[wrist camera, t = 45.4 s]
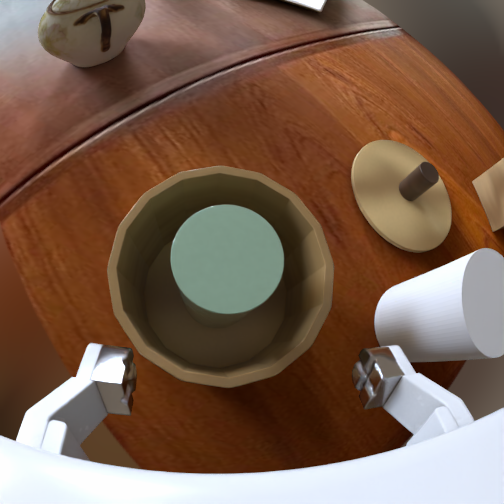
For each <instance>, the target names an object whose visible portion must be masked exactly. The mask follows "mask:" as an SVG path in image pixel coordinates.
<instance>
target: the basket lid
mask: <svg viewBox="0 0 504 504" xmlns="http://www.w3.org/2000/svg"><path fill="white" fill-rule="evenodd" d="M351 181H352V188H353V192H354V195H355V198H356V201H357V203H358V206H359V208H360V210H361V212H362V213H363V215H364V217H365V218H366V220H367V221H368V222H369V224H370V225H371V226H372V227H373V228H374V230H375V231H376V232H377V233H378V234H379V235H380V236H382V237H383V238H384V239H385V240H387V241H388V242H389V243H391V244H393V245H394V246H396V247H398V248H400V249H403V250H406V251H409V252H426V251H429V250H432V249H434V248H436V247H437V246H439V245H440V244H441V243H442V242H443V241H444V239H445V238H446V236H447V234H448V232H449V229H450V226H451V215H452V213H451V204H450V199H449V196H448V193H447V190H446V188H445V186H444V184H443V182H442V180H441V178H440V176H439V175H438V172H437V170H436V169H435V167H434V166H433V165H432V164H430V163H429V162H428V161H427V160H426V159H425V158H424V157H423V156H421V155H420V154H419V153H418V152H416V151H415V150H413V149H412V148H410V147H408V146H406V145H404V144H401V143H398V142H395V141H390V140H378V141H374V142H371V143H369V144H367V145H366V146H364V147H363V148H362V149H361V150H360V151H359V153H358V154H357V156H356V157H355V159H354V162H353V165H352V171H351Z"/></svg>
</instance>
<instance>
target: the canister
mask: <svg viewBox="0 0 504 504" xmlns="http://www.w3.org/2000/svg"><path fill="white" fill-rule="evenodd" d="M171 268H172V272H173V276H174V279H175V281H176V284H177V287H178V290H179V292H180V295H181V298H182V300H183V303H184V305H185V308H186V310H187V312H188V313H189V315H190V316H191V317H192V318H193V319H194V320H195V321H197V322H198V323H200V324H201V325H203V326H206V327H209V328H216V329H217V328H226V327H229V326H232V325H234V324H235V323H237V322H239V321H240V320H241V319H243V318H244V317H245V316H247V315H248V314H249V313H251V312H252V311H253V310H255V309H256V308H257V307H259V306H260V305H261V304H263V303H264V302H265V301H266V300H267V299H268V298H269V297H270V296H271V295H272V294H273V293H274V291H275V290H276V288H277V287H278V285H279V282H280V280H281V277H282V274H283V269H284V252H283V248H282V244H281V242H280V239H279V237H278V235H277V233H276V232H275V230H274V229H273V227H272V226H271V225H270V224H269V223H268V222H267V221H266V220H265V219H264V218H263V217H261V216H260V215H259V214H257V213H255V212H253V211H252V210H249V209H247V208H244V207H240V206H236V205H216V206H212V207H208V208H205V209H203V210H201V211H199V212H197V213H195V214H194V215H192V216H191V217H190V218H189V219H188V220H187V221H185V223H184V224H183V225H182V226H181V227H180V229H179V231H178V232H177V234H176V236H175V238H174V241H173V244H172V248H171Z"/></svg>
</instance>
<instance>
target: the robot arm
mask: <svg viewBox="0 0 504 504" xmlns="http://www.w3.org/2000/svg"><path fill="white" fill-rule="evenodd" d="M133 356H134V355H133V351H132V349H131V348H126V347H118V346H110V345H101V344H94V343H90V344H89V345H88V346H87V348H86V351H85V354H84V356H83V359H82V362H81V364H80V367H79V370H78V373H77V376H76V378H75V377H71V378H70V379H69V380H67V381H66V382H65V383H63V384H62V385H61V386H59V387H58V388H57V389H55V390H54V391H53V392H51V393H50V394H49V395H48V396H46V397H45V398H44V399H42V400H41V401H40V402H38V403H37V404H36V405H34V406H33V407H32V408H30V409H29V410H28V411H27V412H26V414H25V417H24V419H23V422H22V425H21V428H20V431H19V434H18V436H17V439H16V441H14V440H11V439H8V438H6V437H3V436H0V504H504V407H503V408H502V409H499V410H497V411H496V412H494V413H491V414H489V415H487V416H485V417H483V418H481V419H478V420H476V421H474V419H473V417H472V415H471V414H470V412H469V410H468V409H467V407H466V406H465V404H464V402H463V401H462V399H460V398H459V397H457V396H455V395H454V394H452V393H451V392H449V391H447V390H446V389H444V388H443V387H441V386H439V385H438V384H436V383H435V382H433V381H431V380H430V379H428V378H427V377H425V376H423V375H422V374H420V373H416V372H415V370H414V369H413V367H412V366H411V364H410V362H409V361H408V359H407V357H406V356H405V354H404V353H403V351H402V349H401V348H400V347H399V346H398V345H392V346H386V347H385V346H383V347H374V348H364V349H363V350H361V352H360V354H359V358H360V360H359V361H358V362H357V363H356V364H355V365H354V367H353V370H352V381H353V384H354V386H355V388H356V389H358V390H359V391H360V394H359V398H360V401H361V403H362V405H363V408H364V409H370V408H377V407H383V408H384V409H385V410H386V411H387V412H389V413H390V414H391V415H392V416H393V417H394V418H395V419H397V420H398V421H399V422H400V423H401V424H402V425H403V426H404V427H406V428H407V429H408V430H409V431H410V432H411V433H413V434H414V435H413V436H412V438H411V439H410V440H409V441H408V442H407V444H406V446H405V447H402V448H399V449H395V450H391V451H388V452H384V453H380V454H376V455H372V456H368V457H363V458H359V459H354V460H349V461H344V462H339V463H334V464H328V465H322V466H315V467H308V468H301V469H292V470H283V471H272V472H258V473H237V474H196V473H175V472H162V471H151V470H142V469H133V468H126V467H119V466H113V465H107V464H101V463H96V462H91V461H89V459H88V457H87V456H86V454H85V453H84V451H83V450H82V448H81V447H80V444H81V443H82V442H83V441H84V440H85V439H86V437H88V435H89V434H90V433H91V432H92V431H93V430H94V429H95V428H96V427H97V426H98V425H99V423H100V422H101V421H102V420H103V419H104V418H105V417H106V416H107V415H108V414H107V413H111V414H120V415H130V416H131V412H132V406H133V397H132V393H133V392H134V391H135V389H136V380H137V373H136V366H135V364H134V363H133V362H132V361H133Z"/></svg>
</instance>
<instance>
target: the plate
mask: <svg viewBox="0 0 504 504" xmlns="http://www.w3.org/2000/svg"><path fill="white" fill-rule="evenodd" d="M280 1H283V2H287V3H290V4H293V5H296V6H299V7H302V8H305V9H309V10H312V11H315V12H321V11H322V9H323V7H324V5H325V3H326V1H327V0H280Z"/></svg>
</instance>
